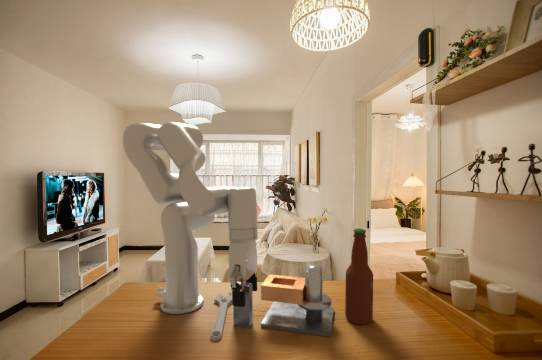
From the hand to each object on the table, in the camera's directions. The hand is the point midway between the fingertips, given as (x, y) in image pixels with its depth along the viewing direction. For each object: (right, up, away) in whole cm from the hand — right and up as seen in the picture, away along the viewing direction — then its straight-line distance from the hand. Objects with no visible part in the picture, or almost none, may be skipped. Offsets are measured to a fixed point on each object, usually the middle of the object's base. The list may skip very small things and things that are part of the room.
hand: (245, 297), depth 79 cm
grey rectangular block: (-1, -8, +1) cm, 7 cm away
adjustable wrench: (-8, -8, +6) cm, 13 cm away
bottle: (+31, -7, +4) cm, 32 cm away
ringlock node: (+14, -7, +4) cm, 16 cm away
